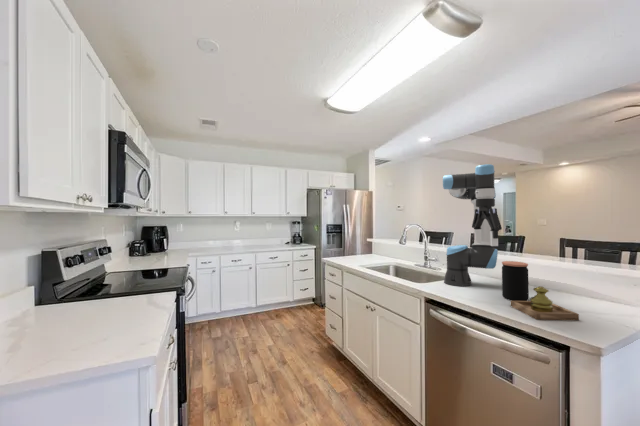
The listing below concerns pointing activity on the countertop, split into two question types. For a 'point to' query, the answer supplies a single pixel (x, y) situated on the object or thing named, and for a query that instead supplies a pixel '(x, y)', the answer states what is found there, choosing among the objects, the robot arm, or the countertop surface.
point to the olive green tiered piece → (541, 301)
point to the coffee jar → (515, 281)
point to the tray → (557, 313)
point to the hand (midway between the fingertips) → (485, 244)
